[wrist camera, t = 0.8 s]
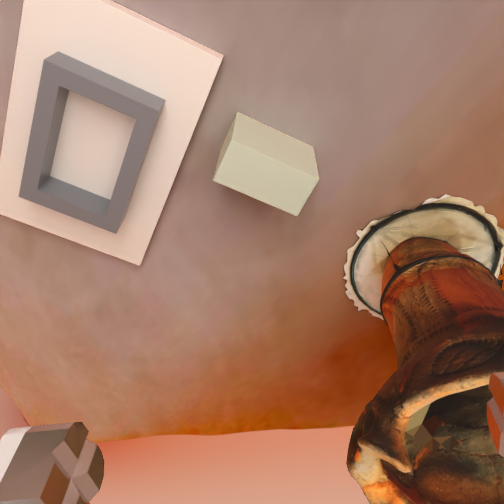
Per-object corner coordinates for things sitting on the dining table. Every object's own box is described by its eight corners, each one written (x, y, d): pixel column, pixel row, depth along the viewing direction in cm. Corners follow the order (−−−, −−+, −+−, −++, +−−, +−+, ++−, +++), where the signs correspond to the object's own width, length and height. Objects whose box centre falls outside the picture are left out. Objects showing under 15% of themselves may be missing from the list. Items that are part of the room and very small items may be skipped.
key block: (237, 111, 43) (231, 139, 37) (313, 146, 45) (319, 179, 39) (220, 148, 45) (212, 180, 39) (294, 180, 47) (296, 216, 41)
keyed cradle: (37, -36, 37) (11, -32, 33) (223, 55, 40) (218, 68, 36) (-1, 204, 50) (-23, 226, 46) (142, 258, 53) (133, 282, 49)
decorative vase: (286, 227, 49) (322, 484, 26) (511, 149, 45) (797, 377, 22) (340, 355, 60) (400, 616, 37) (526, 302, 56) (726, 563, 32)
